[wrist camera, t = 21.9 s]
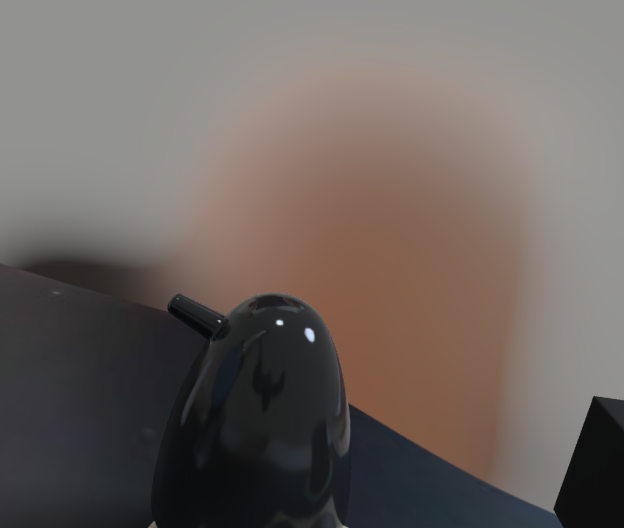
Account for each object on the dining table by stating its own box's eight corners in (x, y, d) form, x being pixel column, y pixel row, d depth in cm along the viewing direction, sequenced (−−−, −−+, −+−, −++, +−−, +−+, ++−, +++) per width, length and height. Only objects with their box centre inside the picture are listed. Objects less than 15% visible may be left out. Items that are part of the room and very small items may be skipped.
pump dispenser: (174, 476, 37) (198, 248, 33) (336, 506, 37) (383, 280, 32) (109, 615, 28) (131, 317, 23) (329, 657, 27) (395, 365, 23)
